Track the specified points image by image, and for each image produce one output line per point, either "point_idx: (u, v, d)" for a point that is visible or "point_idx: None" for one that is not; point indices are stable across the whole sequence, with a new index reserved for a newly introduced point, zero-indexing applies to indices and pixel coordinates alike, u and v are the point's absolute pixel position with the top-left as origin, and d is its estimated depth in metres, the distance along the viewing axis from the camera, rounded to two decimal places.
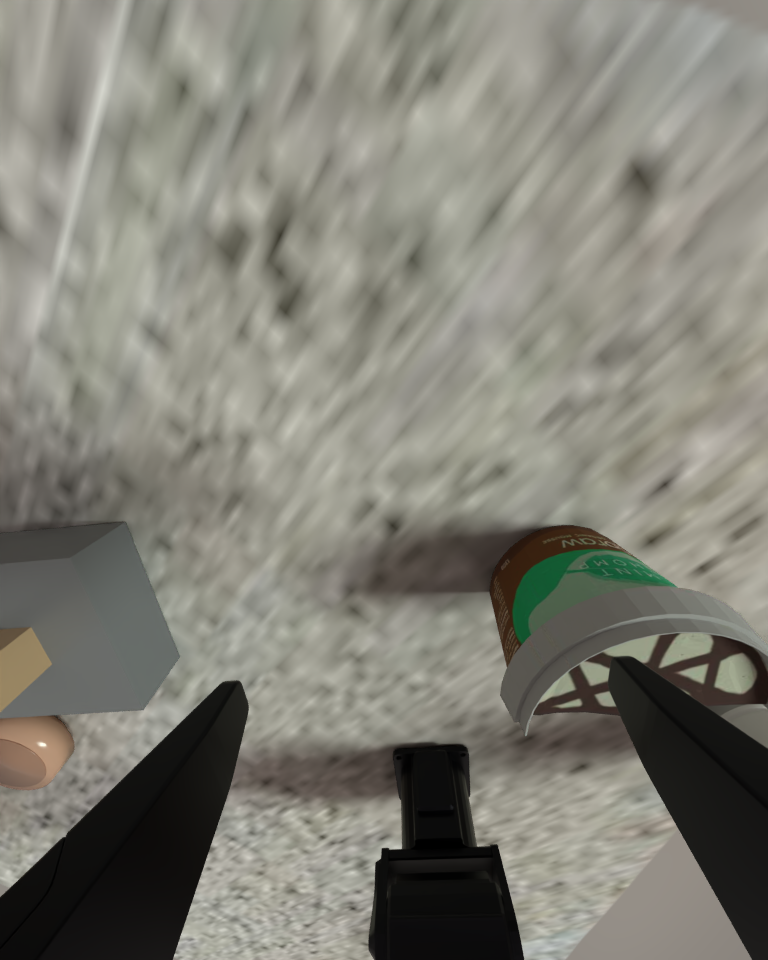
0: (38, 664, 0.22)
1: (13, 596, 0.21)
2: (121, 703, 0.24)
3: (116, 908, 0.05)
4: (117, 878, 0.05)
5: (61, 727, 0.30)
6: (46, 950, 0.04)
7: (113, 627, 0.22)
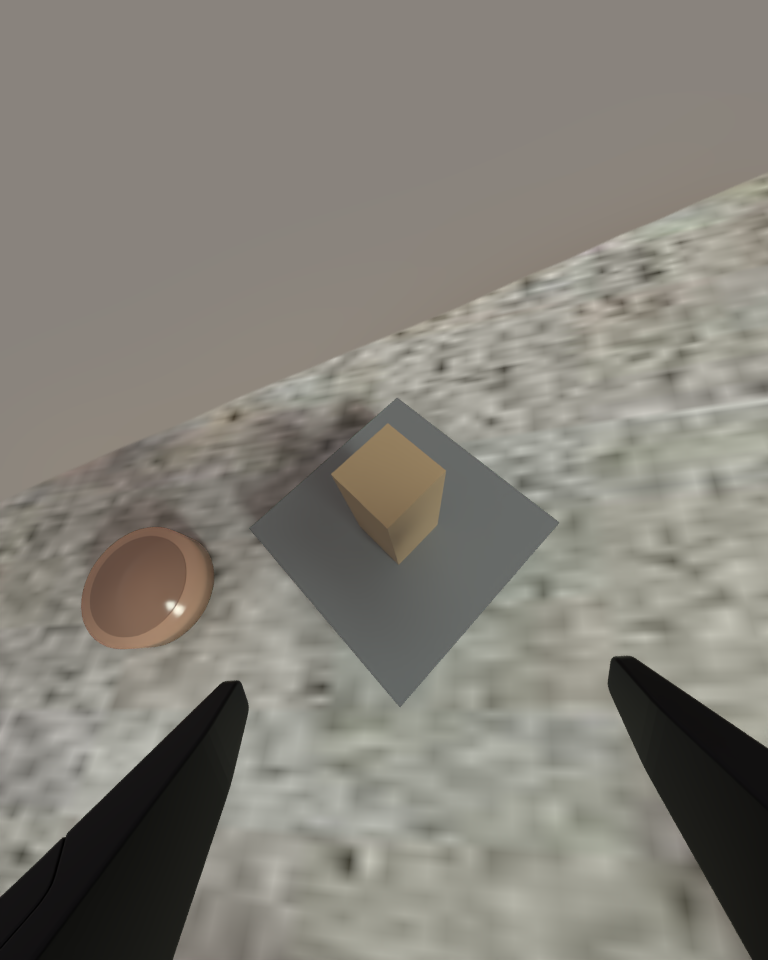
0: (407, 553, 0.18)
1: (465, 495, 0.20)
2: (391, 671, 0.17)
3: (116, 908, 0.05)
4: (117, 878, 0.05)
5: (201, 612, 0.22)
6: (46, 950, 0.04)
7: None
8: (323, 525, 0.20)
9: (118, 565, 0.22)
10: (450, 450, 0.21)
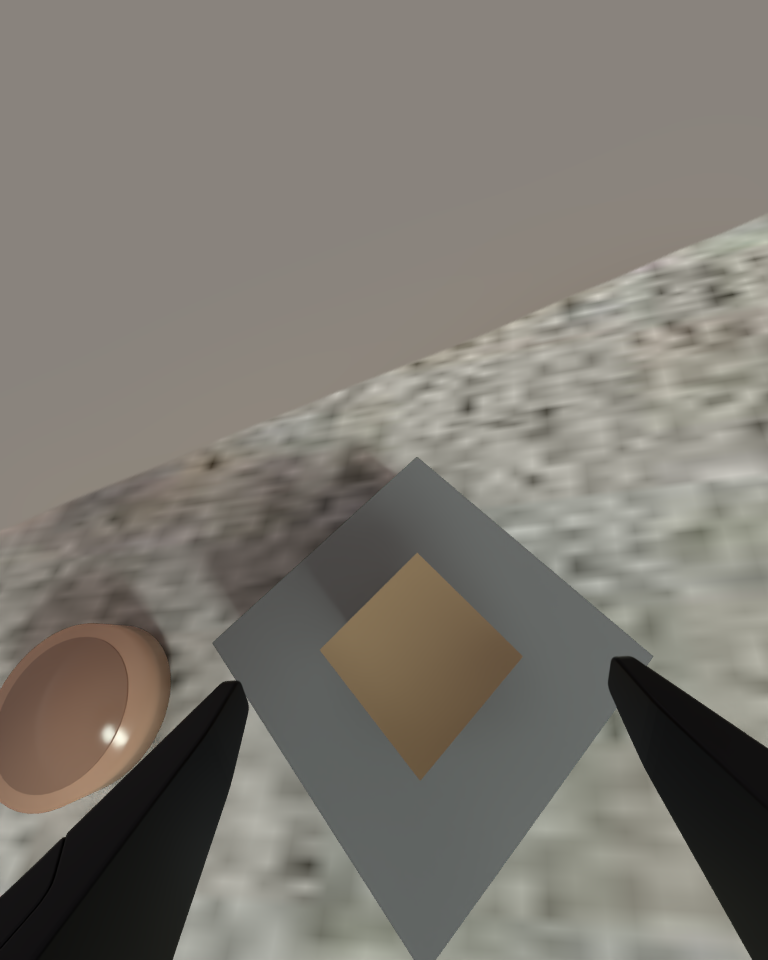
0: None
1: (513, 606, 0.14)
2: (410, 905, 0.11)
3: (116, 908, 0.05)
4: (117, 878, 0.05)
5: (149, 744, 0.16)
6: (46, 950, 0.04)
7: None
8: (314, 643, 0.14)
9: (39, 680, 0.16)
10: (489, 536, 0.15)
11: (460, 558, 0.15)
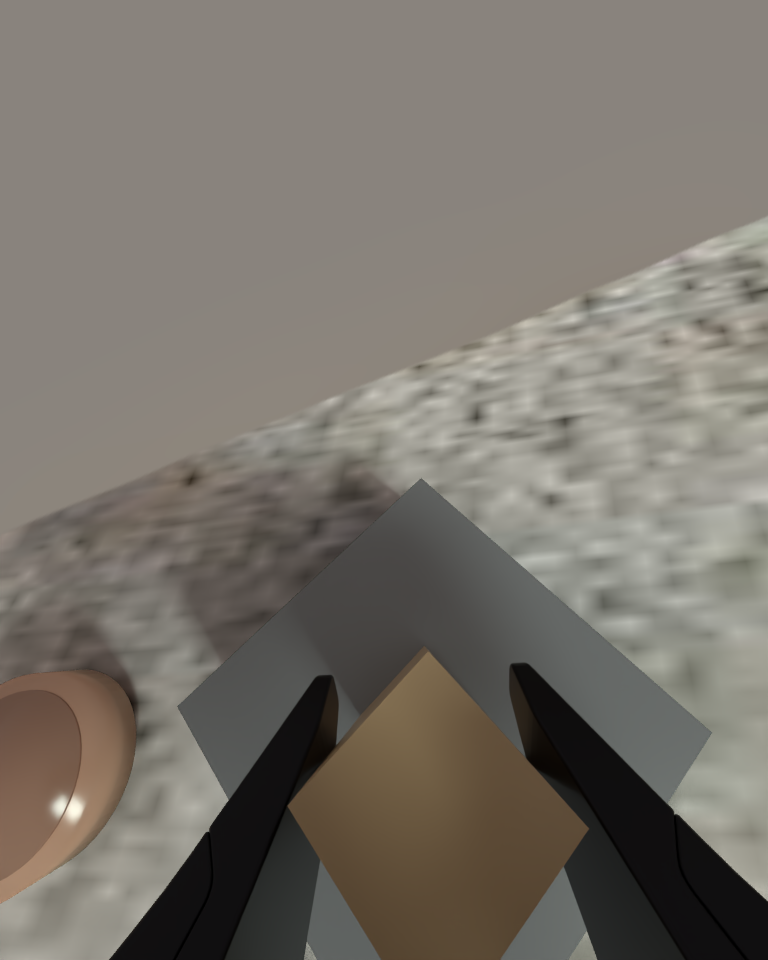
0: None
1: (538, 665, 0.12)
2: None
3: (270, 904, 0.05)
4: (270, 874, 0.05)
5: (109, 816, 0.14)
6: (230, 947, 0.04)
7: None
8: None
9: None
10: (508, 576, 0.13)
11: (473, 603, 0.13)
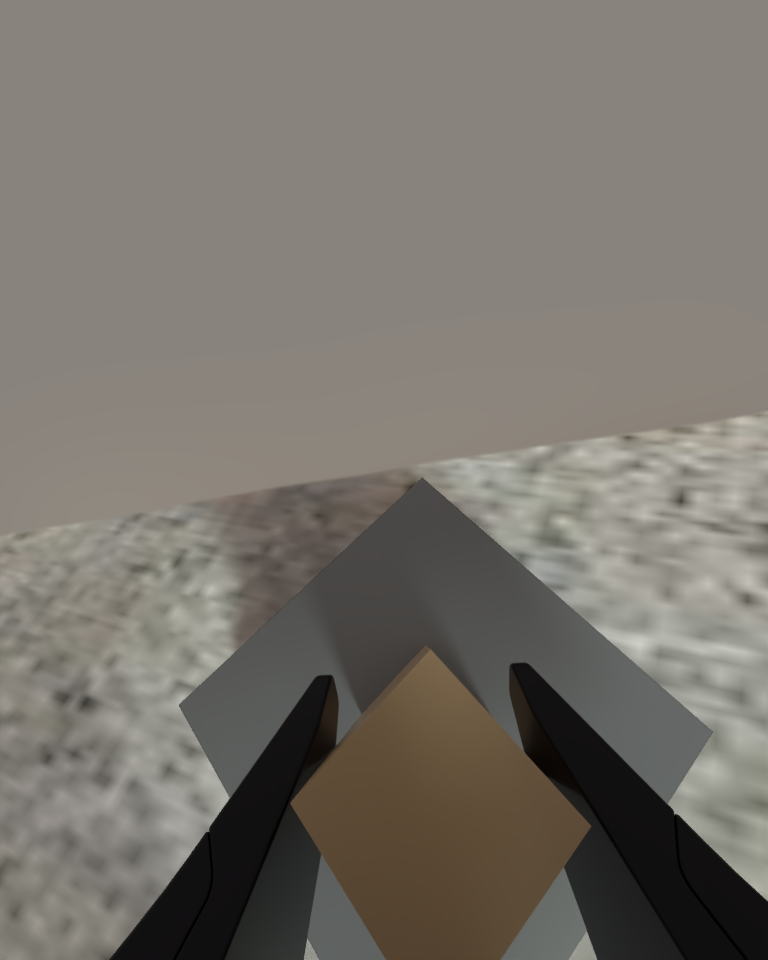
0: None
1: (539, 664, 0.12)
2: None
3: (270, 904, 0.05)
4: (270, 873, 0.05)
5: None
6: (230, 947, 0.04)
7: None
8: None
9: None
10: (509, 575, 0.13)
11: (474, 602, 0.13)
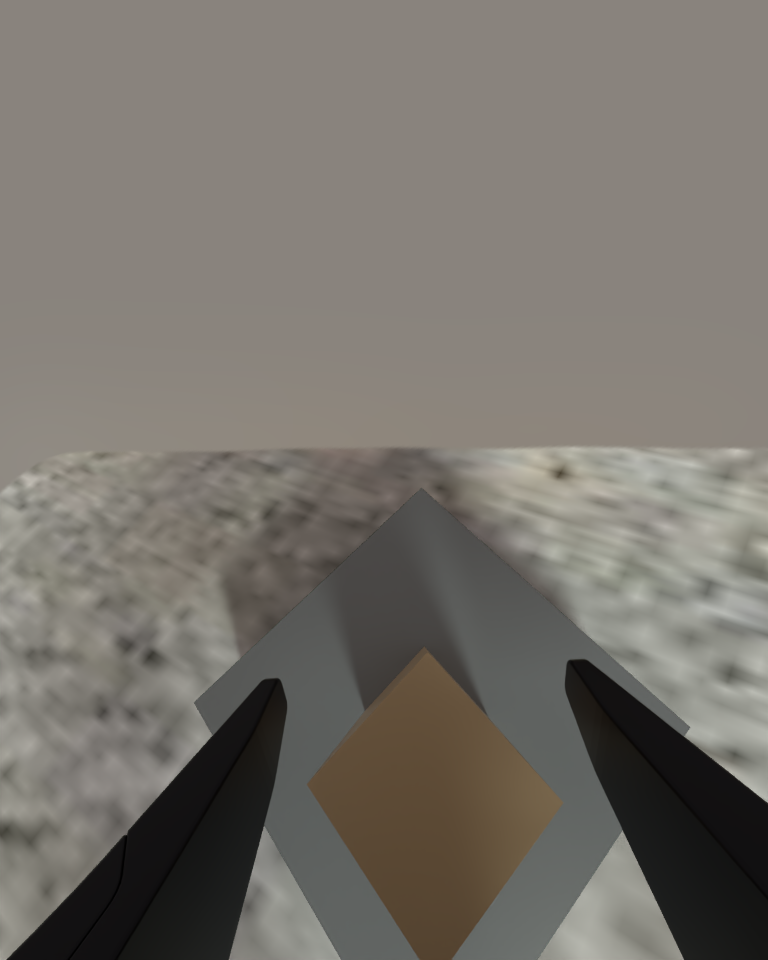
0: None
1: (530, 664, 0.13)
2: None
3: (182, 906, 0.05)
4: (183, 876, 0.05)
5: None
6: (125, 949, 0.04)
7: None
8: (307, 705, 0.13)
9: None
10: (502, 581, 0.14)
11: (470, 607, 0.14)
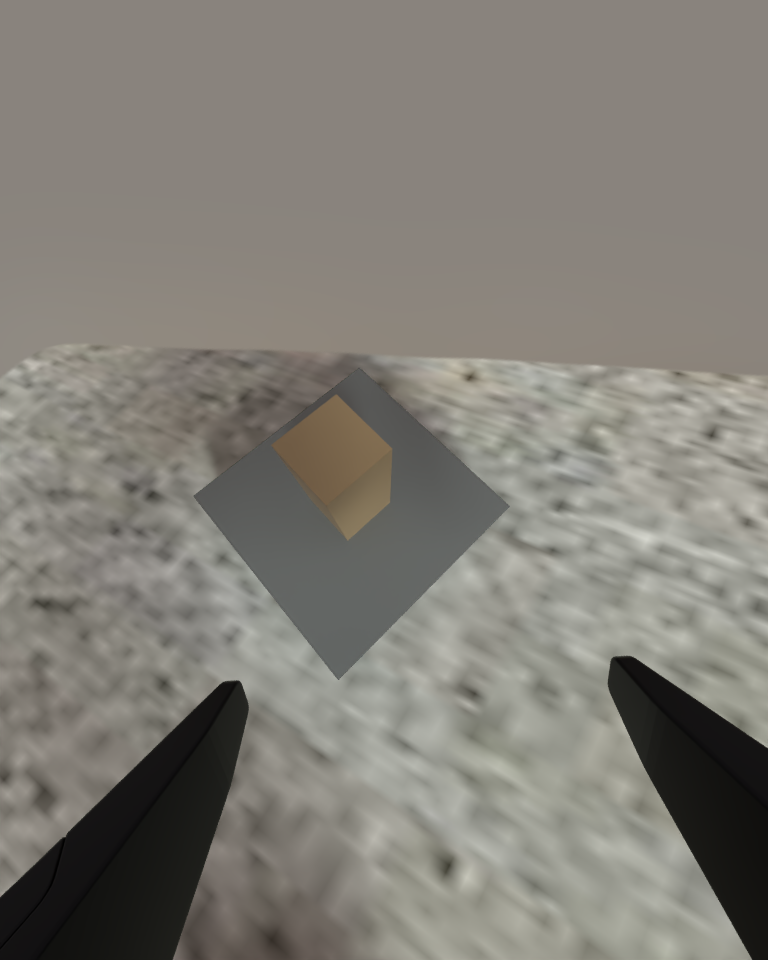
0: (356, 529, 0.18)
1: (420, 474, 0.19)
2: (332, 645, 0.17)
3: (116, 908, 0.05)
4: (117, 878, 0.05)
5: None
6: (46, 950, 0.04)
7: None
8: (273, 497, 0.19)
9: None
10: (409, 427, 0.20)
11: (385, 442, 0.20)
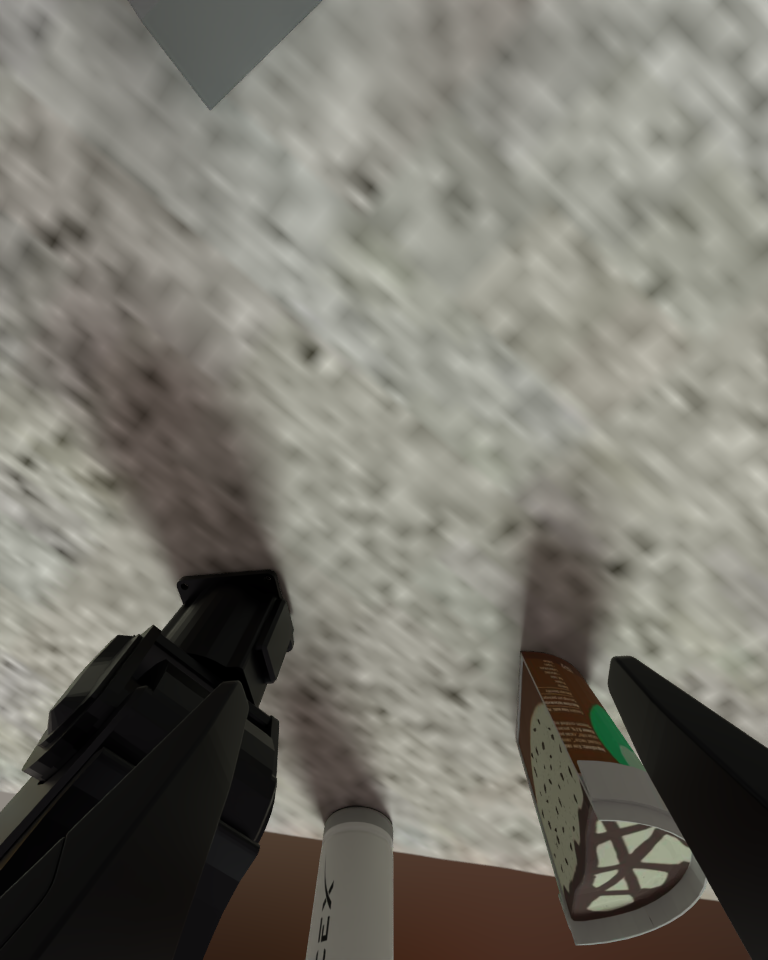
0: None
1: None
2: None
3: (116, 908, 0.05)
4: (117, 878, 0.05)
5: None
6: (46, 950, 0.04)
7: None
8: None
9: None
10: None
11: None
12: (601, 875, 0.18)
